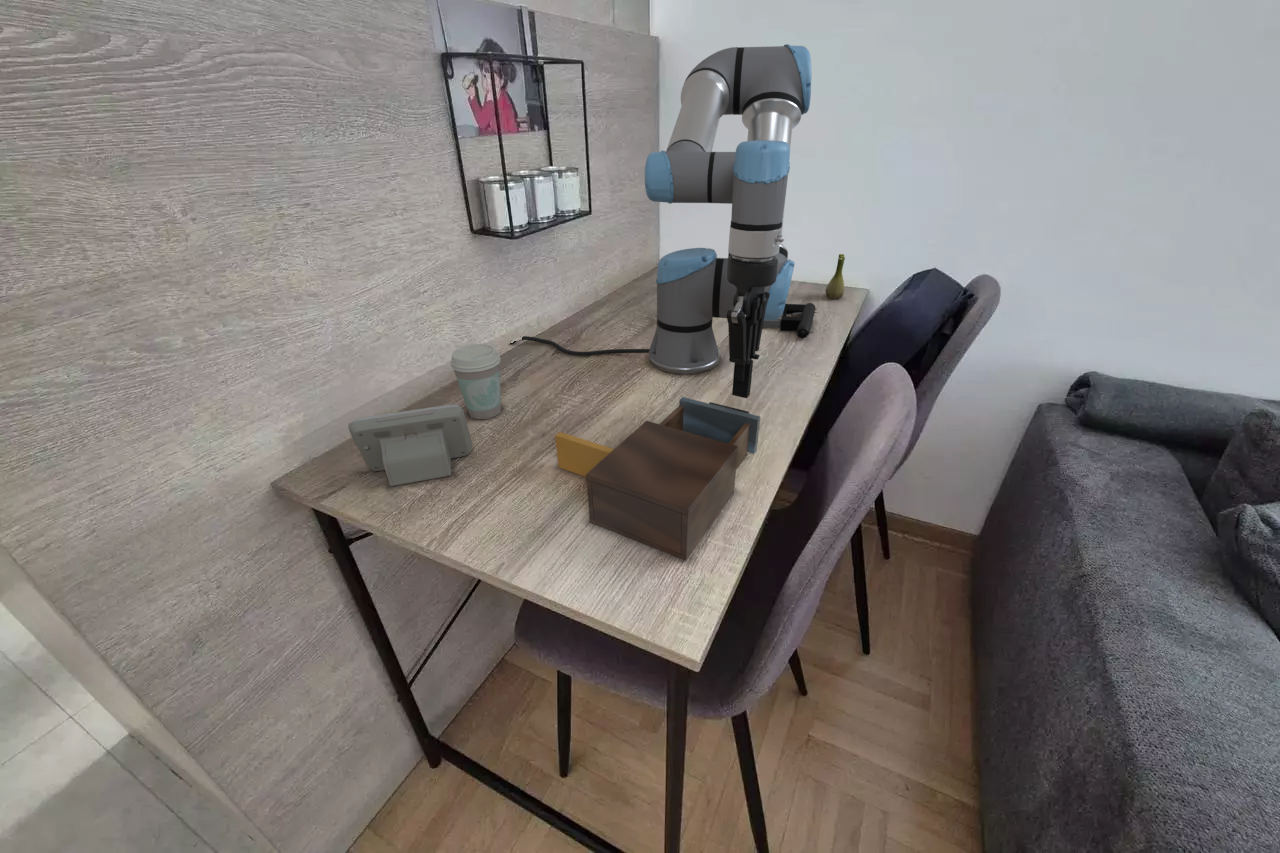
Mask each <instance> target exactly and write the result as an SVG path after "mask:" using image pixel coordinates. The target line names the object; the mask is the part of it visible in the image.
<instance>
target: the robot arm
mask: <svg viewBox="0 0 1280 853" xmlns="http://www.w3.org/2000/svg"><path fill="white" fill-rule="evenodd" d="M811 95H812V58H811V53H810V51H809V49H808V48H807V47H805V46H804V45H791V44H788V43H786V44H784V45H780V46H779V45H778V46H777V45H775V46H740V47H739V46H734V47H733V46H732V47H727V48H724V49H720V50H717V51H716V52H714V53H712V54H710V55H709V56H707V57H706V58H704V59H702V60H701V61H700V62H699V63H698V64H696V66H694V68H693V69H692V70H690V72H689V74H688V75H687V76H686V77H685V80H684V83H683V85H682V87H681V91H680V104H681V107H680V110H679V112H678V115H677V119H676V121H675V124H674V127H673V130H672V133H671V136H670V139H669V142H668V144H667V148H666V150H660V151H653V152H650V153H649V154H648V155H647V157H646V160H645V166H644V188H645V194H646V197H647V198H648V200H650V201H651V202H657V203H667V204H670V205H671V204H729V205H731V220H730V226H729V234H728V236H729V238H728V250H727V252H728V254H727V257H718V254H717V252H716V250H715V249H713V248H710V247H708V248H706V247H693V248H692V247H691V248H685V249H680V250H679V249H678V250H676V251H672V252H669V253H667V254H665V255H663V256H662V257H661V258H660V259H659V260H658V263H657V272H656V279H655V283H656V329H655V332H654V335H653V338H652V341H651V343H650V346H649V348H615V349H614V348H613V349H601V350H591V351H577V350H570V349H566V348H564V347H562V346H561V345H560V344H558V343H556V342H555V341H553V340H549V339H545V338H544V339H543V338H540V337H534V336H530V335H529V336H528V335H522V336H523V337H522V340H519V341H532V342H536V343H540V344H546V345H549V346H553V347H554V348H555V349H557V350H559V351H560V352H561V353H563V354H566V355H571V356H578V357H579V356H582V357H584V356H585V357H586V356H598V355H599V356H600V355H609V354H648V363H649V365H650V366H651V367H652V368H654V369H656V370H657V371H660V372H662V373H665V374H671V375H678V376H691V375H693V376H694V375H699V374H703V373H704V374H705V373H707V372H709V371H712V370H714V369H715V368H716V367H717V366H718V365H719V361H720V353H721V350H720V348H719V347H718V344H717V340H716V337H715V334H714V330H713V318H715V319H716V318H717V319H726V320H727V326H728V354H729V355H728V361H729V362H730V363H734V364H733V379H732V391H731V396H734V397H739V398H742V399H748V398H749V397H750V396H751V388H752V377H753V368H754V360H756V361H758V360H759V358H760V354H758V353H756V352H758V351H759V350H760V346H761V345H760V344H761V339H762V333H763V328H764V327H763V323H764V320H777V319H781V318H782V316H783V311H784V308H785V304H787V299H788V296H789V290H790V286H791V282H792V278H793V274H794V273H793V272H794V268H795V264H796V262H795V261H794V260H792V259H788V257H789V250H788V249H787V247H785V245H784V244H783V242H785V237H784V235H783V228H784V227H783V226H784V216H785V207H786V196H787V189H788V188H787V187H788V178H789V173H790V167H791V161H790V159H791V158H790V157H791V143H792V134H793V129H794V128H796V127H797V126H798V125H799V123H800V122H801V119H802V116H803V115H804V114H807V113H808V112H809V110H810V105H811V97H812V96H811ZM731 115H733V116H741V121H742V122H741V123H742V124H743V126H744V127H745V128H746V129H747V139H746V140H745V141H741V142H740V143H738V144H737V146H736V149H735V151H713V148H714V143H715V139H716V135H717V131H718V127H719V123H720V119H721V118H722V117H723V116H731ZM519 341H514V342H513V343H510V342H509V343H510V344H509V343H508V345H509V346H511V345H514V344H515V343H518V342H519Z"/></svg>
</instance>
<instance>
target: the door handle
mask: <svg viewBox="0 0 1280 853" xmlns="http://www.w3.org/2000/svg"><path fill="white" fill-rule="evenodd" d="M815 314H818V312H816V304H814V303H813V302H808V303H805V304H803V303H802V304H801V303H800V304H799V303H786V304H785V308H784V311H783V314H782V316H781V317H780V318H779V319H777V320H764V323H763V328H777V329H779V330H780V331H781V332H796V335H797V337H798V338H799V339H801V340H802V339H803V340H804V339H806V338H807V337H808V336H809V335H810V333H814V331H811V329H812V324H813V320H814V317H815Z"/></svg>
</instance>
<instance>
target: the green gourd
mask: <svg viewBox="0 0 1280 853" xmlns="http://www.w3.org/2000/svg"><path fill="white" fill-rule="evenodd" d="M845 260H846V257H845V254H844V253H839V254H838V258H837V264H836V268H835V273H834V275H833V276H832V278H831V279H830V280H829V282H828V283H827V286H826V288H825V295H826V297H827V298H828V299H832V300H838V299H841V298H843V297H844V293H845V281H844V276H843V268H844V264H845Z"/></svg>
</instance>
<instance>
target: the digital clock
mask: <svg viewBox="0 0 1280 853" xmlns="http://www.w3.org/2000/svg"><path fill="white" fill-rule="evenodd" d="M347 427H348V431H349V433H350V436H351V438H352V440H353V441H354V443H355V445H356V447H357V449H358V451H359V453H360V455H361V457H362V459H363V461H364V462H365V465H366V466H367V468H369V469H370V470H371V471H372V472H378V471H379V472H380V471H385V474H386V477H387V481H388V483H389V487H396V486H402V485H406V484H413V483H419V482H423V481H428V480H434V479H439V478H440V479H441V478H446V477H450V476H452V459H456V458H462V457H465V456H468V455H469V454H471V453H472V451H473V442H472V438H471V435H470V430H469V426H468V422H467V417H466V413H465V411H464V409H463V407H462V406H460V405H458V404H455V403H454V404H444V405H439V406H430V407H424V408H418V409H412V410H411V409H410V410H404V411H398V412H391V413H383V414H378V415H377V414H376V415H372V416H371V415H370V416H366V417H358V418H356V419H354V420H352V421H350V422H349V423H348V426H347Z"/></svg>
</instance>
